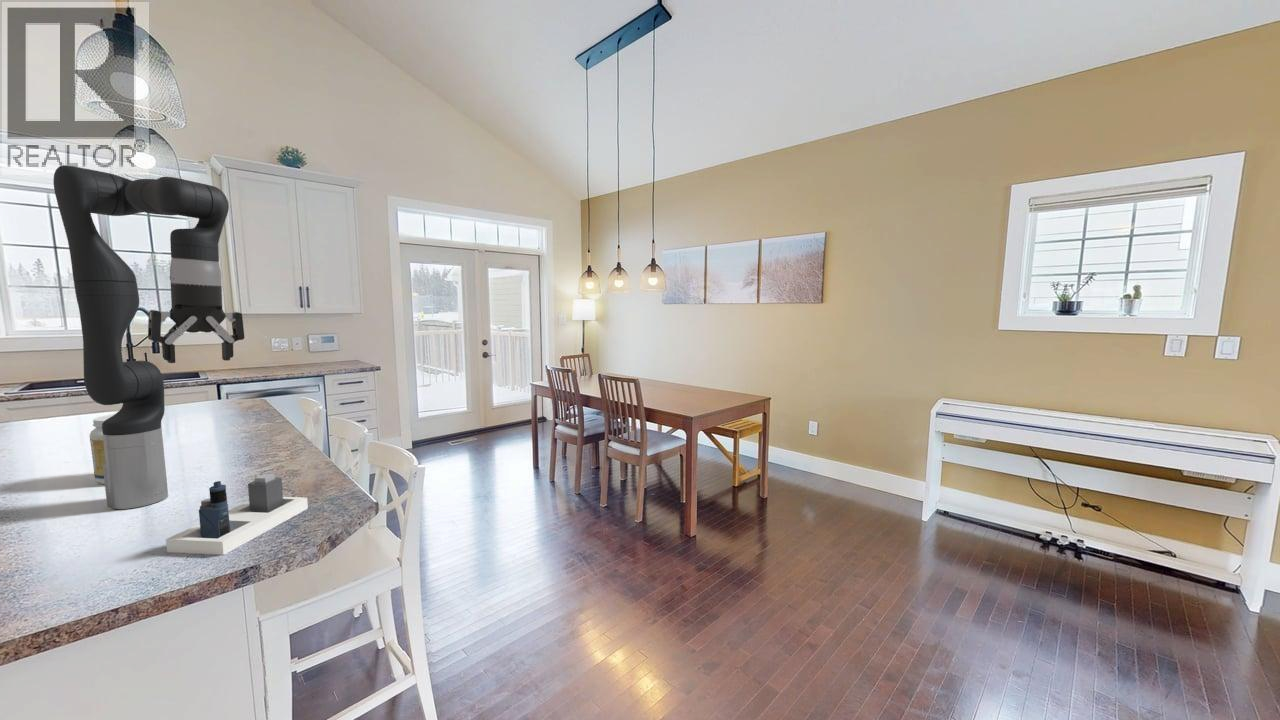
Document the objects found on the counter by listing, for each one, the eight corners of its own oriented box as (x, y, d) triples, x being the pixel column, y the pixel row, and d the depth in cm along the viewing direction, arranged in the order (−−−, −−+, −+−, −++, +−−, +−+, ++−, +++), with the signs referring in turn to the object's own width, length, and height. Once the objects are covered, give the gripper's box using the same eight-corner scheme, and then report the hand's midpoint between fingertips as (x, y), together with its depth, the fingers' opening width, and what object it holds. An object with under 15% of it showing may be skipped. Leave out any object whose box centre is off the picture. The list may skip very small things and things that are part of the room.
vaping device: (220, 546, 87) (214, 485, 86) (198, 542, 88) (192, 482, 87) (234, 539, 90) (229, 480, 89) (213, 536, 91) (208, 477, 90)
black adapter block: (250, 519, 98) (247, 479, 97) (266, 511, 102) (263, 472, 101) (268, 520, 98) (265, 479, 97) (284, 512, 102) (281, 473, 101)
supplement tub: (154, 466, 132) (148, 409, 130) (169, 475, 126) (163, 414, 124) (89, 479, 121) (81, 417, 120) (101, 489, 115) (94, 423, 114)
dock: (224, 559, 84) (222, 541, 84) (167, 557, 85) (165, 539, 85) (308, 512, 104) (307, 497, 104) (261, 510, 105) (260, 495, 105)
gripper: (152, 280, 86) (157, 366, 88) (247, 286, 98) (250, 361, 100) (140, 279, 90) (145, 361, 91) (233, 284, 102) (236, 357, 104)
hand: (199, 361), depth 96 cm, fingers open, 8 cm apart
